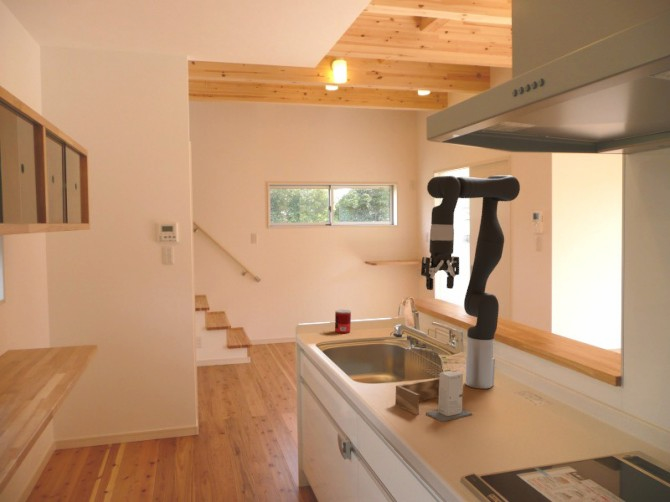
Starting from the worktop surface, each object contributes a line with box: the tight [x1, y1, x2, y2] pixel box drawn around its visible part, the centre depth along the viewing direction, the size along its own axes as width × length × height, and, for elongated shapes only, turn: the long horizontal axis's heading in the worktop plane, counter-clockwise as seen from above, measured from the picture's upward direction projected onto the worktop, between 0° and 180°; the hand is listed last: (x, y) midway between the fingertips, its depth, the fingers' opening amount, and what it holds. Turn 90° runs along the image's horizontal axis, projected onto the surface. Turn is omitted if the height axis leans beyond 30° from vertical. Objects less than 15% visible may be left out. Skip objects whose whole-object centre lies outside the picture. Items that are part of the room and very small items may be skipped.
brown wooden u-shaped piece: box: [394, 377, 439, 416], centre depth 169 cm, size 18×10×6 cm, turn 122°
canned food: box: [334, 309, 352, 335], centre depth 272 cm, size 8×8×11 cm
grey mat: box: [425, 408, 473, 423], centre depth 161 cm, size 12×7×1 cm, turn 122°
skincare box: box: [437, 370, 464, 416], centre depth 160 cm, size 6×4×12 cm
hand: (439, 289), depth 172 cm, fingers open, 8 cm apart
